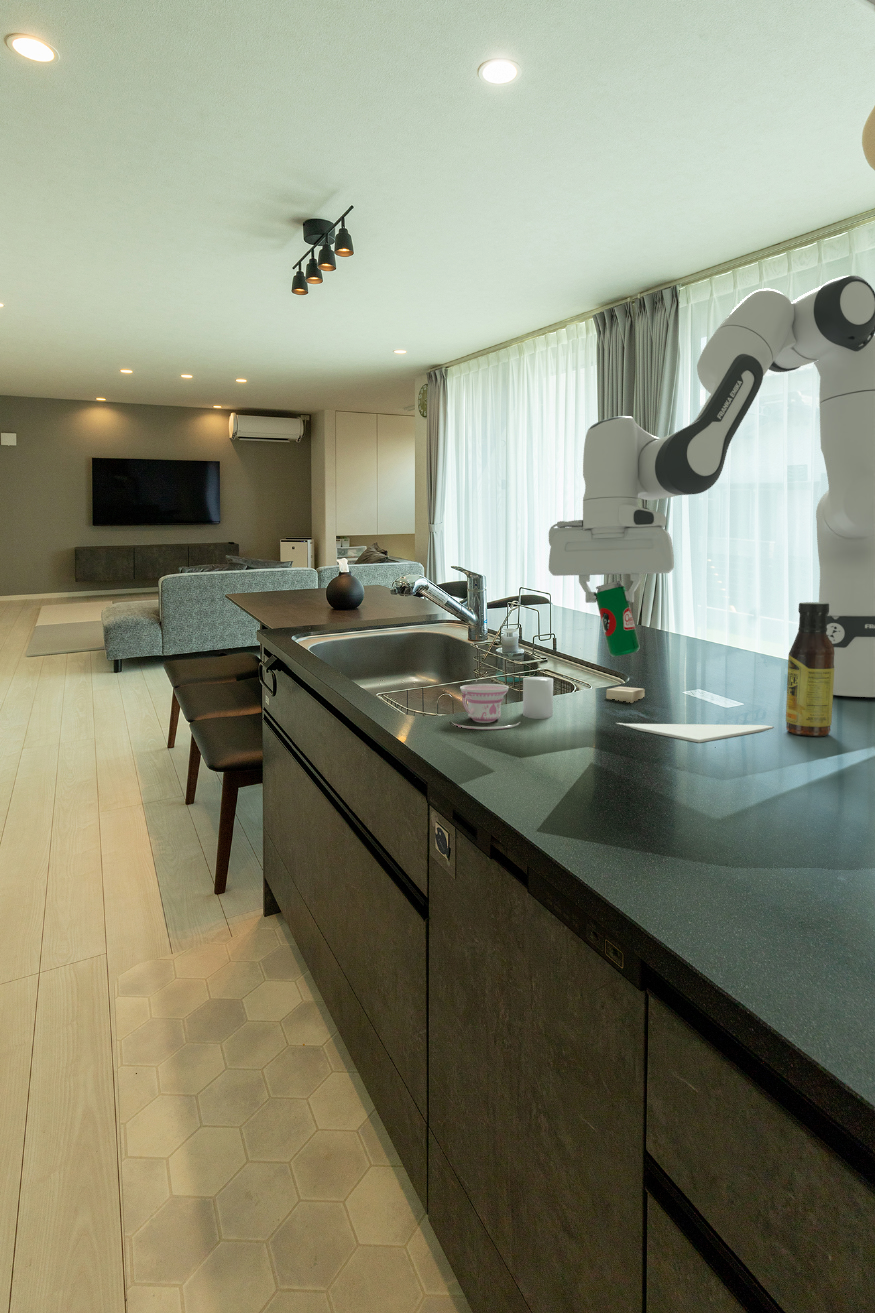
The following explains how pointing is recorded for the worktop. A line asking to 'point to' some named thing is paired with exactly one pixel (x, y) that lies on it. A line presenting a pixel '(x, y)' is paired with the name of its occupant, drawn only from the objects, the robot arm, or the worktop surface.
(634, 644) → the soda can
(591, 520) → the robot arm
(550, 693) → the grey cylinder
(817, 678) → the sauce bottle
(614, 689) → the birch block
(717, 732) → the mat
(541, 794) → the worktop surface
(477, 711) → the teacup
